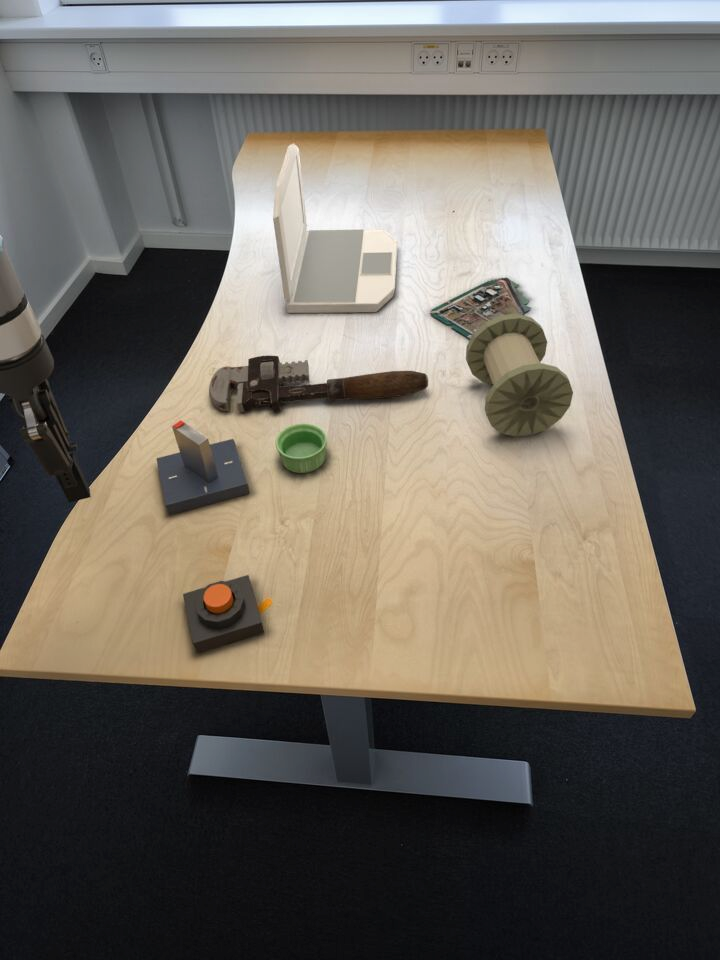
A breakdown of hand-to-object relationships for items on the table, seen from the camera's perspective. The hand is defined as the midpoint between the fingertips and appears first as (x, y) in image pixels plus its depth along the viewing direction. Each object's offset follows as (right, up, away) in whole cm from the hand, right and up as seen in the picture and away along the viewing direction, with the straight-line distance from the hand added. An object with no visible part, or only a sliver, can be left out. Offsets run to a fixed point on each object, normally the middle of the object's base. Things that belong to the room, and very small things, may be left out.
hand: (79, 495), depth 94 cm
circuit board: (+63, +40, +67) cm, 100 cm away
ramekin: (+26, +6, +38) cm, 46 cm away
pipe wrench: (+28, +20, +51) cm, 62 cm away
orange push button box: (+16, -19, +15) cm, 29 cm away
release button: (+16, -16, +12) cm, 25 cm away
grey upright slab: (+8, +4, +33) cm, 34 cm away
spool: (+65, +16, +45) cm, 80 cm away
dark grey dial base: (+8, +2, +35) cm, 36 cm away
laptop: (+33, +51, +81) cm, 101 cm away
